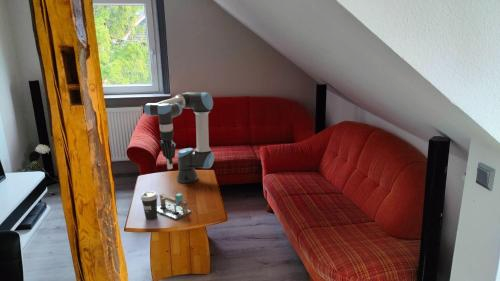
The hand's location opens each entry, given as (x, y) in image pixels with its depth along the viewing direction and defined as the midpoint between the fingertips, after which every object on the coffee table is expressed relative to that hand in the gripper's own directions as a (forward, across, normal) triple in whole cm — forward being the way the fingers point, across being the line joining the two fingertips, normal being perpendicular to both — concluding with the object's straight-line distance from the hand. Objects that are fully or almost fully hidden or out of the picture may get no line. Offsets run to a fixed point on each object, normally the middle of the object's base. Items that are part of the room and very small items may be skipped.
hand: (170, 168), depth 219 cm
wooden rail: (+25, +1, -3) cm, 26 cm away
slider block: (+25, +7, -2) cm, 26 cm away
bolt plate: (+27, +1, -3) cm, 27 cm away
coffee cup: (+27, -2, -16) cm, 31 cm away
